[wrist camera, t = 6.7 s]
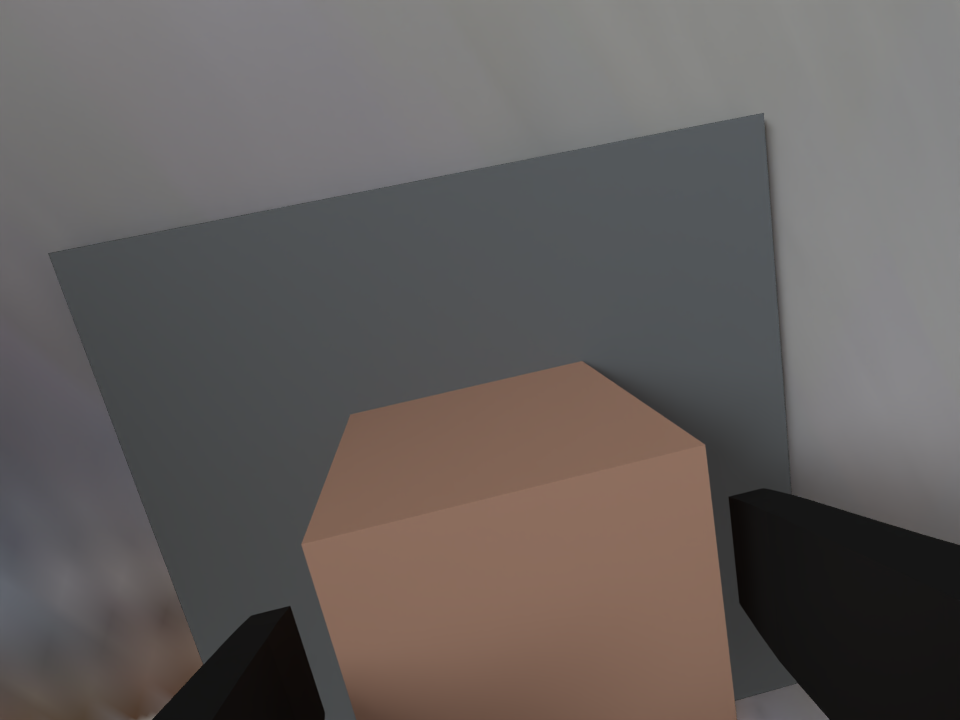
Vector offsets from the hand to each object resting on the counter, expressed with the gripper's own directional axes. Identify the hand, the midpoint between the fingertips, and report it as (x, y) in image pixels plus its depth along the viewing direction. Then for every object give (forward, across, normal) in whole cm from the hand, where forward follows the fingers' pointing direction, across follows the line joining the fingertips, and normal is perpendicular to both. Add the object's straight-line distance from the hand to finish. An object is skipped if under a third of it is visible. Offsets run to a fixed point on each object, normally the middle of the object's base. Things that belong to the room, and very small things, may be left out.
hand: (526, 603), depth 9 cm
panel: (+4, 0, 0) cm, 4 cm away
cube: (+3, 0, 0) cm, 3 cm away
